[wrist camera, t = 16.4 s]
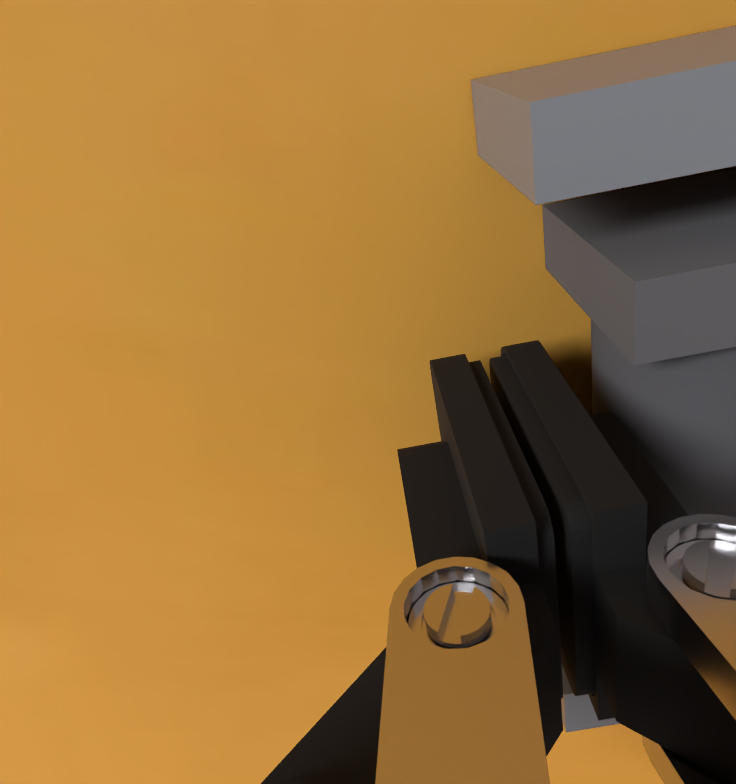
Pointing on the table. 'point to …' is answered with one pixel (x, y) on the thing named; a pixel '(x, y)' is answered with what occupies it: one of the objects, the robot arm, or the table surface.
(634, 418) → the grey square-flanged spool
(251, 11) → the table surface
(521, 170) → the clip
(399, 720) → the robot arm
